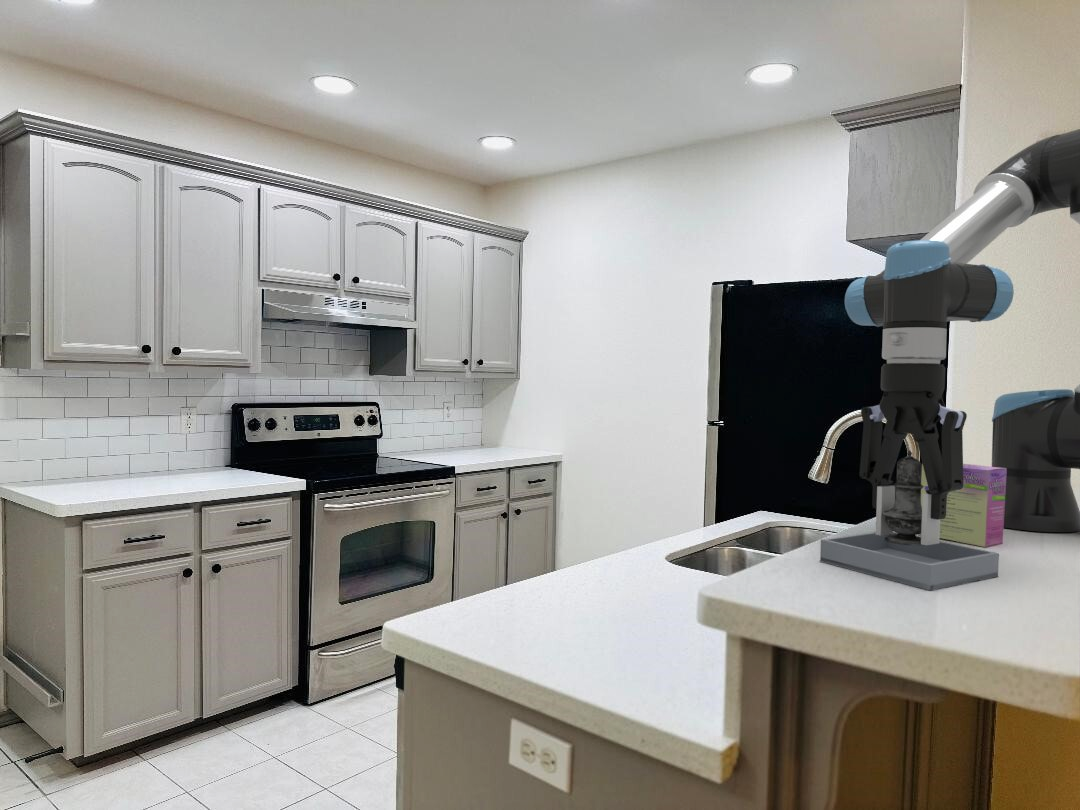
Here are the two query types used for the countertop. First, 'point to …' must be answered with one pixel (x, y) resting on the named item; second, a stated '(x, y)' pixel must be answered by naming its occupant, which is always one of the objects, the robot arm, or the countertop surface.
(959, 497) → the box
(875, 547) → the tray
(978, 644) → the countertop surface
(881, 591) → the countertop surface
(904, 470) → the salt shaker
